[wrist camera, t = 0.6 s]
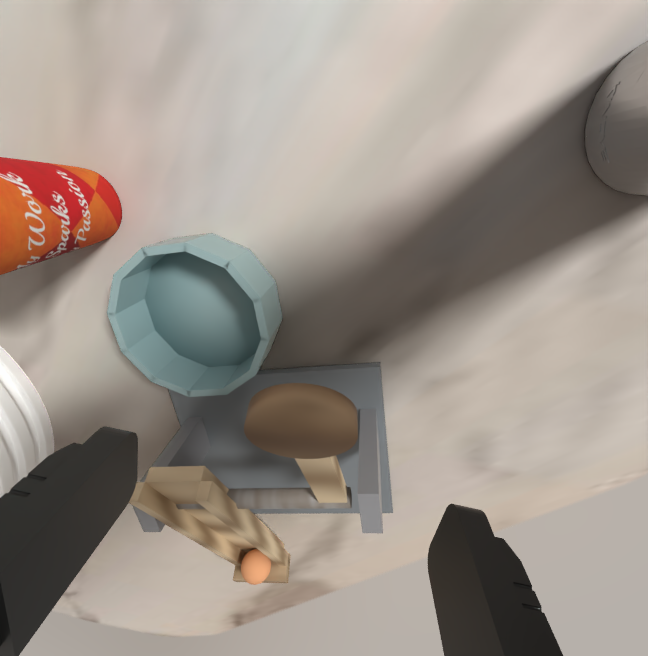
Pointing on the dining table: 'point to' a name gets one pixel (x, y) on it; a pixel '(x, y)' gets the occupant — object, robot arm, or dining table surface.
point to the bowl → (195, 314)
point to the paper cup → (52, 211)
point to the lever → (233, 504)
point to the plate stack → (20, 425)
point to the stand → (278, 471)
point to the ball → (255, 567)
